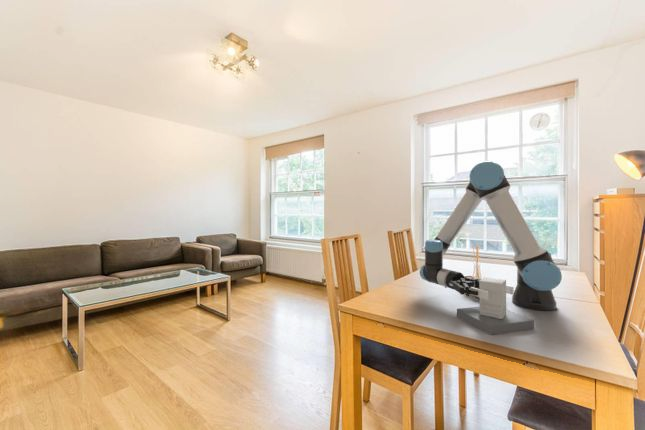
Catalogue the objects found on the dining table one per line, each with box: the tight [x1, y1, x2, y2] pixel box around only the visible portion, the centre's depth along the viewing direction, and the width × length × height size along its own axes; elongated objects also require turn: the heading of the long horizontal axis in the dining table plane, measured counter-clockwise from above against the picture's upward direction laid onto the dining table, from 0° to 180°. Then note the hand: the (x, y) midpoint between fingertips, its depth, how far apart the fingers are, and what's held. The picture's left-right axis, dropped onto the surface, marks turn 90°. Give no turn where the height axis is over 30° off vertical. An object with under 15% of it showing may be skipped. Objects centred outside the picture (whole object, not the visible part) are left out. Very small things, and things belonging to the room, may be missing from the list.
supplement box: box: [478, 276, 507, 319], centre depth 101 cm, size 7×7×13 cm
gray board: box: [456, 306, 535, 336], centre depth 102 cm, size 18×16×3 cm
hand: (500, 293), depth 99 cm, fingers open, 13 cm apart
